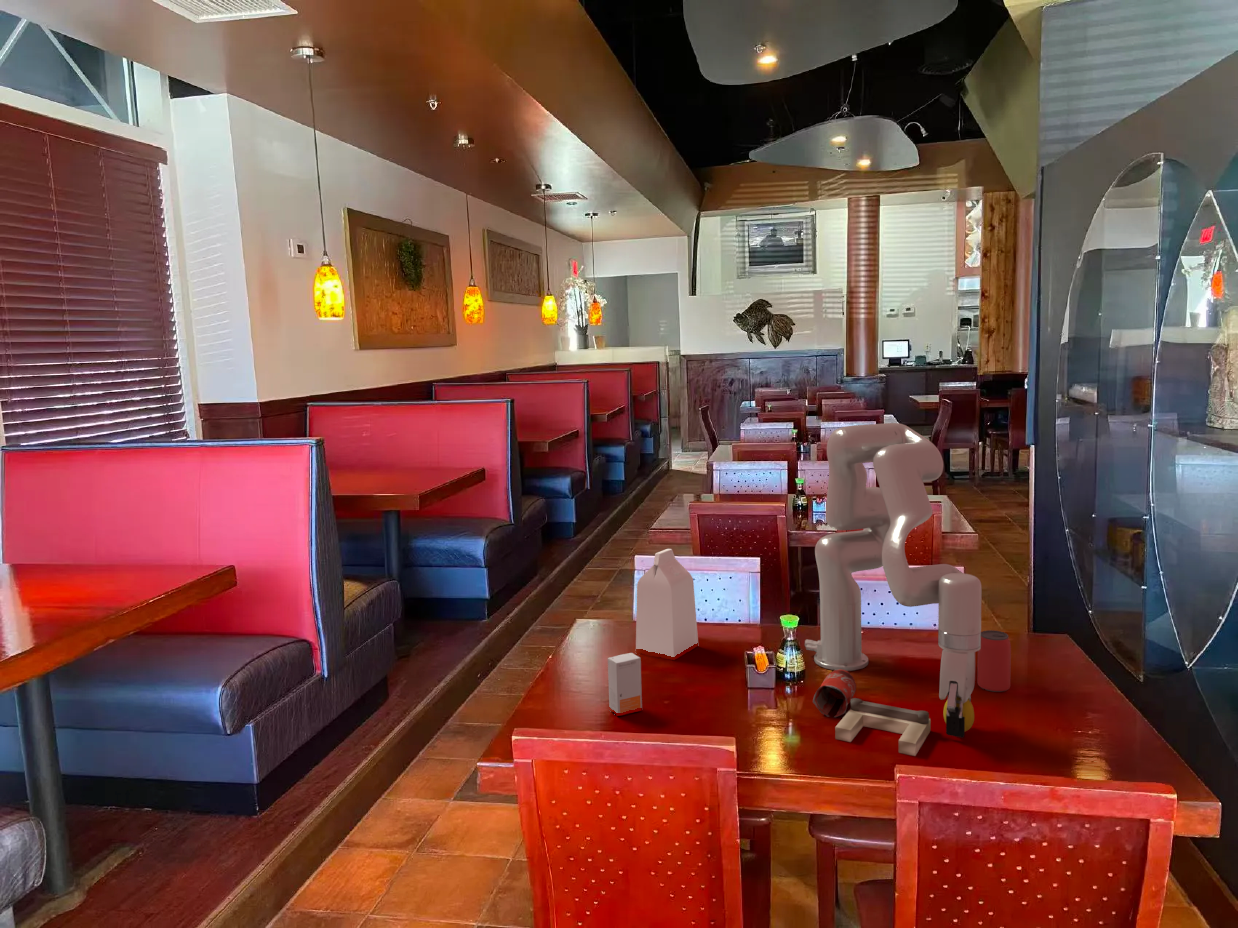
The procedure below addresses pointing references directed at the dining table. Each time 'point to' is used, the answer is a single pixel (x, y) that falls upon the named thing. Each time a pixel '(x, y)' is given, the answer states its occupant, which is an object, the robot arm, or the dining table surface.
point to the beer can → (994, 661)
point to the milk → (666, 607)
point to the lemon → (964, 713)
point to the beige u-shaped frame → (886, 723)
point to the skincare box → (624, 682)
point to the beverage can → (835, 691)
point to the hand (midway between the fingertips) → (958, 728)
